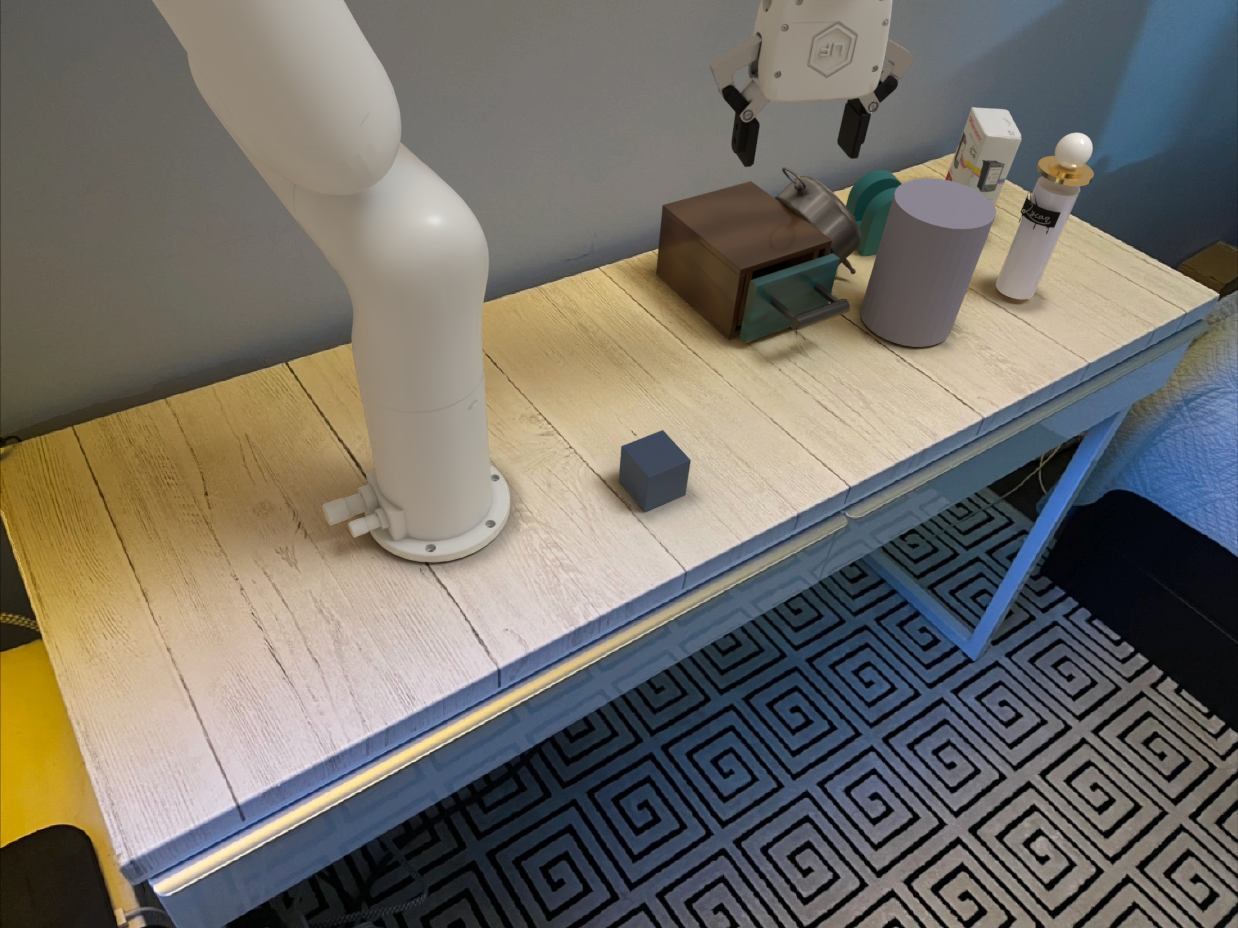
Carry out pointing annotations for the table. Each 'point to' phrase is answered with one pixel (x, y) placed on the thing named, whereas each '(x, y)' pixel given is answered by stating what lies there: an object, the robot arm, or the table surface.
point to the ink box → (985, 151)
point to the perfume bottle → (1045, 215)
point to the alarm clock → (823, 214)
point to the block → (654, 470)
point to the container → (926, 260)
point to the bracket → (872, 207)
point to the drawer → (789, 296)
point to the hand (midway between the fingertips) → (795, 155)
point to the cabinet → (728, 247)
